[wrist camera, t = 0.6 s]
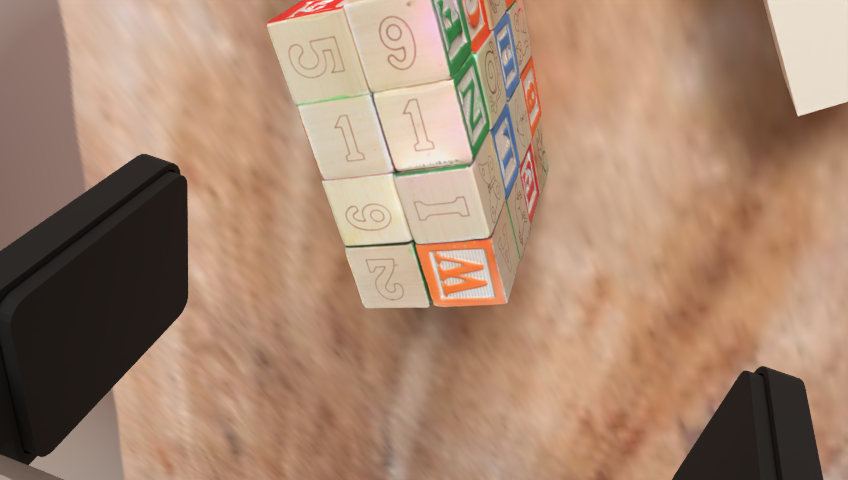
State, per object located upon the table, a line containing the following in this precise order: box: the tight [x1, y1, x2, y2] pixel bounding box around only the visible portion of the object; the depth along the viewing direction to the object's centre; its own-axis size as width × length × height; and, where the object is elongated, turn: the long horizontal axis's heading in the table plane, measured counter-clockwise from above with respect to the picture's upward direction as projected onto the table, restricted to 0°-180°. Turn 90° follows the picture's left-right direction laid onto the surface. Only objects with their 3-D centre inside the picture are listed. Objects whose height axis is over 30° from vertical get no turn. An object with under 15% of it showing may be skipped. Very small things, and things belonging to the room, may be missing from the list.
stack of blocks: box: [266, 0, 548, 309], centre depth 29 cm, size 21×6×12 cm, turn 13°
